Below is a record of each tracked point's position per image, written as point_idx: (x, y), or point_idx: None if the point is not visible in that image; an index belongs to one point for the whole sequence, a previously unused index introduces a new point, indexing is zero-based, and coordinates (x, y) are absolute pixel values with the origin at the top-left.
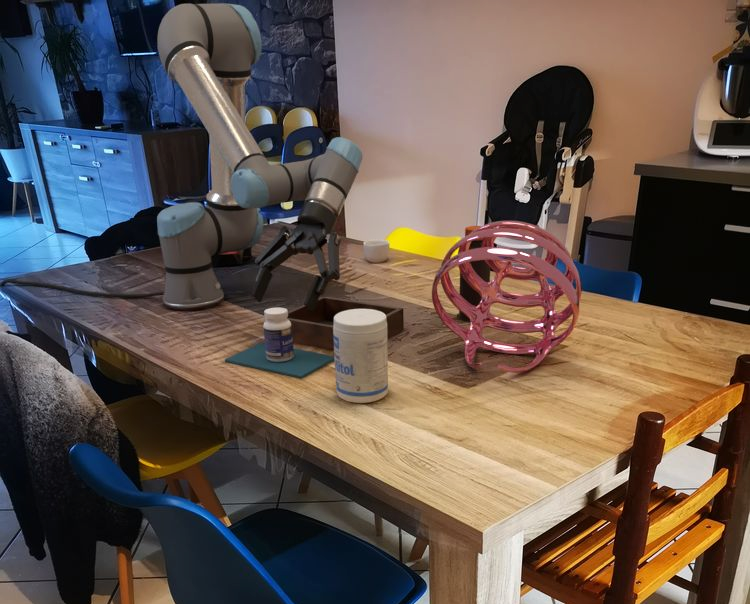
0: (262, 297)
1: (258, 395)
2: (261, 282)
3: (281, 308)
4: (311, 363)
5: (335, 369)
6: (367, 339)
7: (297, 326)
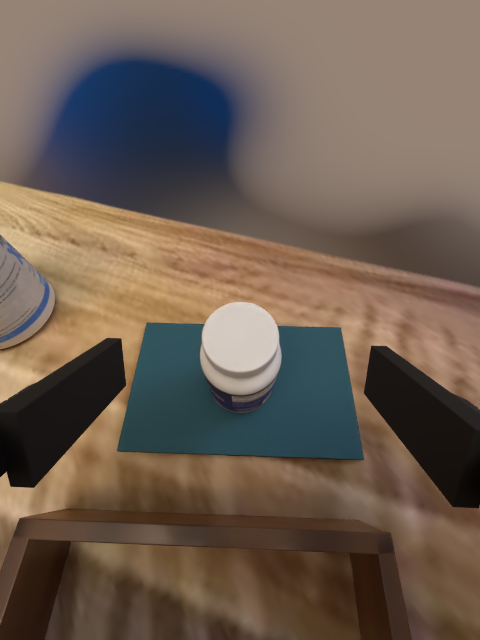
0: (373, 403)
1: (181, 252)
2: (406, 389)
3: (238, 362)
4: (157, 383)
5: (21, 255)
6: None
7: (283, 525)
